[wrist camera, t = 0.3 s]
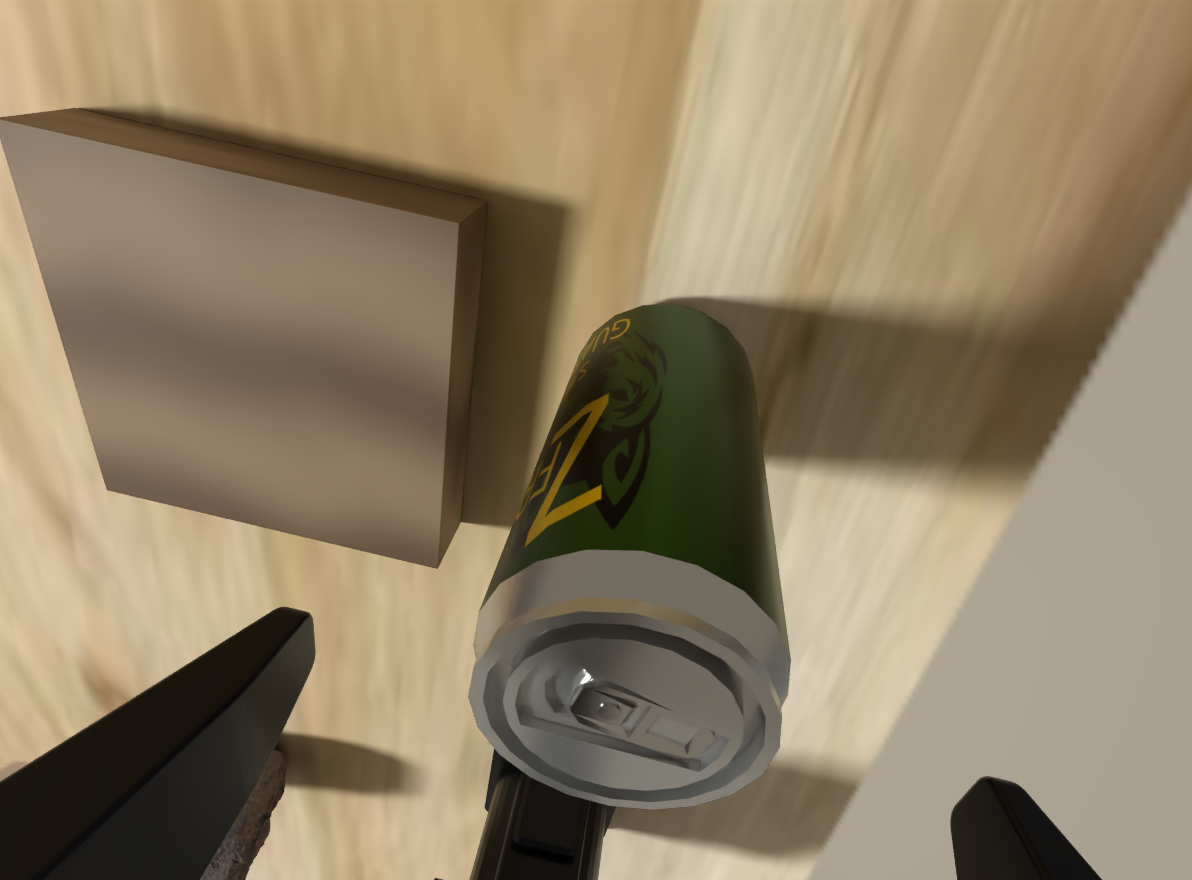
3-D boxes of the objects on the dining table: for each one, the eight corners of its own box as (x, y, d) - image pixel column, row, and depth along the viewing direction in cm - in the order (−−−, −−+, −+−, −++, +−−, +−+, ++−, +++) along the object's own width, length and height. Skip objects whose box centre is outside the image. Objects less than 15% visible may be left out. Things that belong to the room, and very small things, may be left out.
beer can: (785, 338, 19) (874, 686, 9) (702, 473, 22) (699, 849, 12) (616, 265, 19) (509, 543, 8) (555, 412, 21) (422, 749, 11)
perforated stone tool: (99, 755, 39) (-7, 883, 33) (58, 700, 36) (-66, 828, 30) (332, 785, 37) (262, 926, 31) (307, 728, 34) (225, 872, 28)
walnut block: (460, 522, 25) (437, 568, 23) (157, 451, 25) (106, 490, 23) (487, 200, 18) (459, 223, 16) (75, 108, 18) (-6, 118, 16)
